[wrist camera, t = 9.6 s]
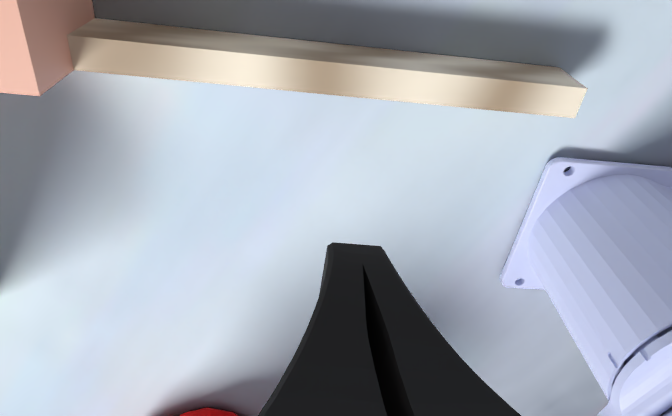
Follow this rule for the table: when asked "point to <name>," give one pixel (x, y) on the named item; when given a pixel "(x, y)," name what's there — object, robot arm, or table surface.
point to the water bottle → (209, 412)
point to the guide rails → (322, 68)
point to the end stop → (38, 42)
